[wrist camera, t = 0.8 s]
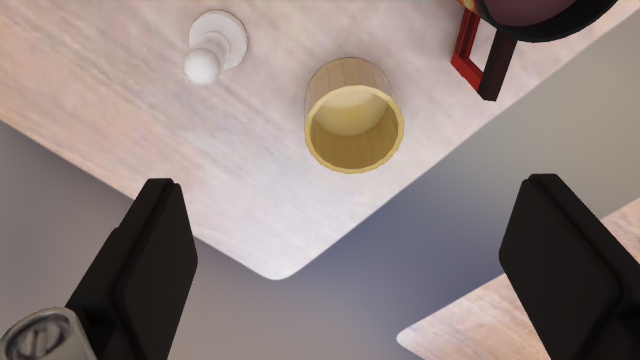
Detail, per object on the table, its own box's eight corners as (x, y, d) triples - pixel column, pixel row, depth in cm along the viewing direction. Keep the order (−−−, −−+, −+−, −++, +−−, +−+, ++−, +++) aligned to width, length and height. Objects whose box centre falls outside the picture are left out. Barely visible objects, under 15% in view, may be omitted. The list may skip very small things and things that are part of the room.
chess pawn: (234, 74, 39) (216, 115, 32) (185, 48, 37) (153, 85, 30) (257, 28, 36) (243, 60, 29) (204, -2, 35) (176, 24, 28)
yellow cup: (292, 76, 39) (288, 106, 33) (377, 43, 37) (388, 70, 32) (323, 147, 44) (325, 184, 38) (400, 121, 42) (414, 156, 36)
